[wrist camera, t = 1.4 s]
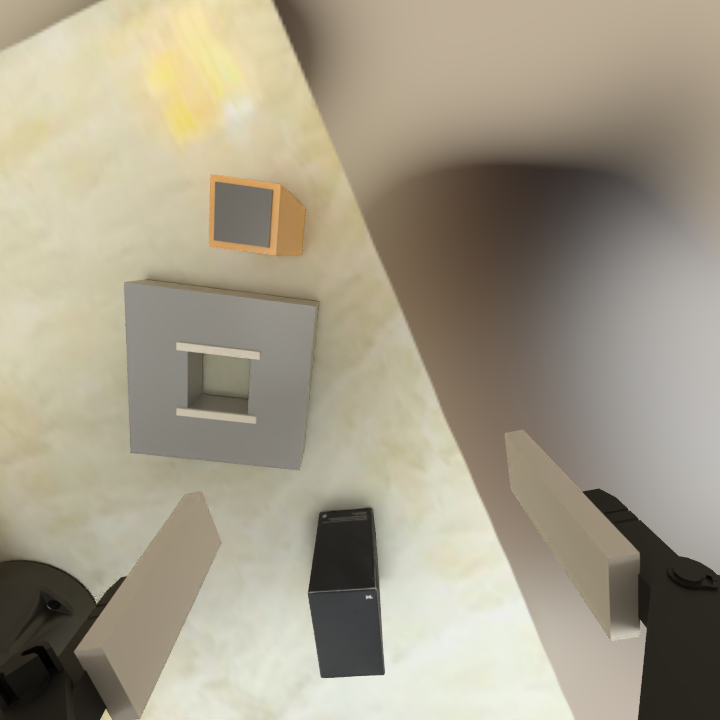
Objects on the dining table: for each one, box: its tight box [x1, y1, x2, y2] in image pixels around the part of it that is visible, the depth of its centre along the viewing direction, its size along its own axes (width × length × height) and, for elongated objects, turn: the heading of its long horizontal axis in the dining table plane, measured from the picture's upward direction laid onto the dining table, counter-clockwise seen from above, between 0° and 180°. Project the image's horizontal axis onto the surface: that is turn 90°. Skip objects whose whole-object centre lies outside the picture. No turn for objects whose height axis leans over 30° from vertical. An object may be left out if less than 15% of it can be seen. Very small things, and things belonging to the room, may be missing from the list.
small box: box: [308, 509, 385, 678], centre depth 38 cm, size 11×6×10 cm, turn 5°
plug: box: [209, 174, 306, 255], centre depth 28 cm, size 4×4×12 cm
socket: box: [124, 280, 319, 470], centre depth 35 cm, size 16×16×4 cm
